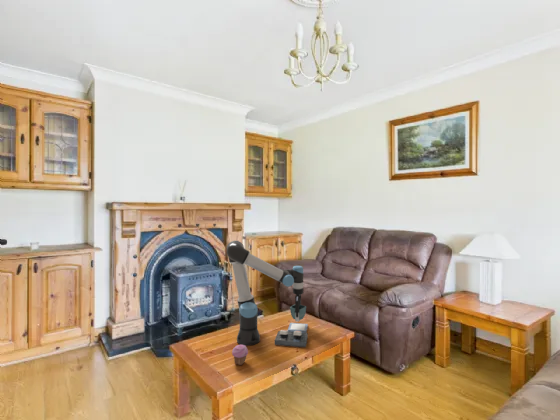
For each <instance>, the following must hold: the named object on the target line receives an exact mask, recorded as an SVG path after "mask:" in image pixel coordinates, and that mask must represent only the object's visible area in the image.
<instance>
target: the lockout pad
mask: <svg viewBox="0 0 560 420" xmlns="http://www.w3.org/2000/svg"><path fill="white" fill-rule="evenodd" d="M308 327H309V324H308V323H299V322H290V323H289V325H288V328H287V330H288V332H294V331H301V332H302V333H307V331H308Z"/></svg>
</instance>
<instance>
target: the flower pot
mask: <svg viewBox="0 0 560 420" xmlns="http://www.w3.org/2000/svg"><path fill="white" fill-rule="evenodd" d="M289 309H290V310H289V311H290V314H291V315H290V316H291V317H292V319H293V320H295V312H294V311H295V304H293V305H291V306H290V307H289ZM306 312H307V305H303V304H301V305H299V322H300V321H301V320H303V319H304V318H305V315H306Z"/></svg>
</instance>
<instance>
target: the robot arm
mask: <svg viewBox="0 0 560 420" xmlns="http://www.w3.org/2000/svg"><path fill="white" fill-rule="evenodd" d="M226 256H227V257H228V263H229V264H231V266H232V270H233V275H234V281H235V284H236V285H235V286H236V291H237V293H238V294H237V295H238V298H237V299H236V301H237V305H238V309H239V310H238V313H239V329H238V333H237V336H236V342H237V344H238V345H245V346H246V347H247V346H254V345H258V343H260V341H261V335H260V333H259V329H258V311H259V310H258V306H257V304H256V301H255V297H254V295H253V294H252V293H251V292H252V291H251V288H250V283H249V277H248V273H247V269H246V266H248V267H250V268H252V269H254V270H256V271H258V272H260V273H261V274H264V275H266V276H268V277H269V278H272V279H273V280H275V281H277V282H280V283H281V284H283V286H285V287H292V293H293V294H294V295H295V296H294V299H295V300H294V302H295V303H294V305H295V311H294V312H295V319H294V320H295V323H299V322H300V321H299V305H302V295H303V294H304V285H305V283H304V267H303V266H302V265H294V266H293V267H292V268H291V269H290V268H289V269H281V268H279V267H276V266H275V265H273V264H271V263H269V262H267V261H265V260H264V259H261V258H260V257H258V256H255V255H254V254H252V253H251V251H249V250H248V249H246V248H245V246H244V245H243V242H241V241H239V240H232V241H230V242H229V243H228V244H227V246H226Z"/></svg>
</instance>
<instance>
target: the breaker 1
mask: <svg viewBox="0 0 560 420" xmlns="http://www.w3.org/2000/svg"><path fill="white" fill-rule="evenodd" d="M279 331H280V334H284V335H287V334H288V329H280V330H279Z"/></svg>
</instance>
